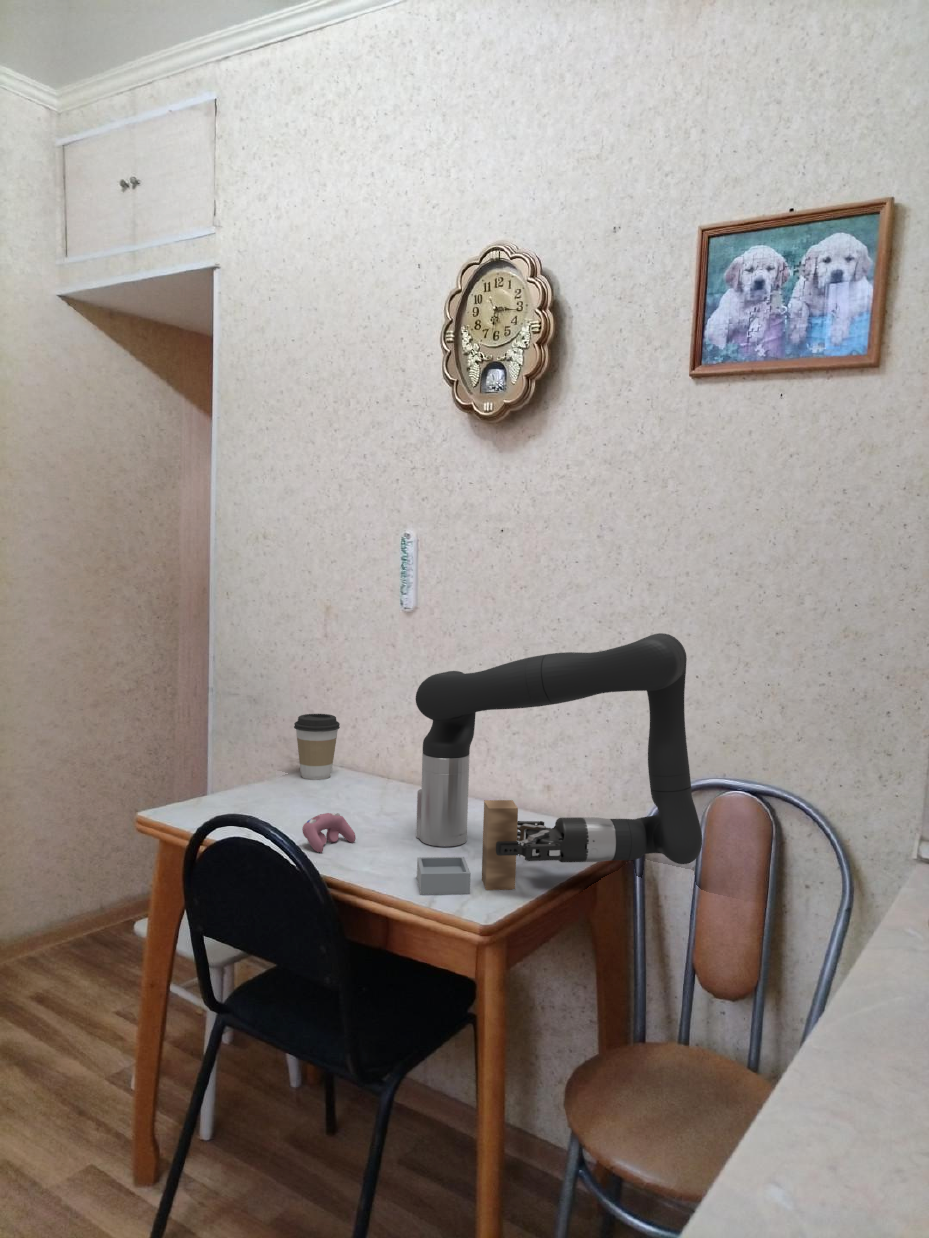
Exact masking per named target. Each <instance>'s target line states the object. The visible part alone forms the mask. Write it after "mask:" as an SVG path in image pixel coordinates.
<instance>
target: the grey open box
mask: <svg viewBox="0 0 929 1238" xmlns="http://www.w3.org/2000/svg"><path fill="white" fill-rule="evenodd" d="M416 864H417V866H416V878H417V879H416V880H417V883H418V884H417V885H418V888H419V889H418V890H419V893H420V894H419V895H420V896H421V895H422V896H423V895H424V896H425V895H470V894H471V870H470V867H469V865H468V863H467V860H466V857H465V856H417V863H416Z"/></svg>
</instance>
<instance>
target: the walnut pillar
mask: <svg viewBox="0 0 929 1238" xmlns="http://www.w3.org/2000/svg"><path fill="white" fill-rule="evenodd" d="M518 814H519V808H518V806H517V805H516V803H515V801H514V800H512V799H511V800H510V799H506V800H505V799H504V800H503V799H499V800H497V799H493V800H488V799H487V800H486V799H485V800H484V801H483V820H482V821H483V823H482V824H483V825H482V826H483V827H482V829H483V830H482V850H481V851H482V855H481V881H482V884H483V887H484V889H485V891H511V890H512V889H515V890H516V874H517V871H516V870H517V855H507V856H499V855H497V854H496V843H497V842H498V841H517V823H518V821H519V820H518V819H519V818H518V817H519V815H518ZM512 891H513V890H512Z"/></svg>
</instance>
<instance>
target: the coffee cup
mask: <svg viewBox="0 0 929 1238" xmlns="http://www.w3.org/2000/svg"><path fill="white" fill-rule="evenodd" d="M340 724H341V723H340V722H339V721H337V717H336V716H335V715H334V714H327V713H306V714H301V715H299V716H298V717H297V721H294V726H293V728H294V730H295V732H296V743H297V748H298V750H297V751H298V761H299V770H300V774H301V778H303V779H304V780H310V781H311V780H312V781H321V779H322V780H327V779H329V778H330V777H331V774H332V771H333V765H334V764H333V763H334V758H335V751H336V743H337V737H338V730H339V729H340V727H341V726H340Z"/></svg>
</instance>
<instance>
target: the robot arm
mask: <svg viewBox="0 0 929 1238" xmlns="http://www.w3.org/2000/svg"><path fill="white" fill-rule="evenodd" d="M687 657H688V656H687V652H686V649H685V647H684V645H683V644H682V642H681V641H680V640H679V639H678V638H676V637H675V636H673V635H671V634H667V633H663V632H662V633H654V634H650V635H648V636H646V637H644V638H641V639H638V640H636V641H634V642H633V641H632V642H630V643H627V644H624V645H621V646H617V647H613V648H609V649H605V650H601V651H594V652H592V651H591V652H578V651H577V652H576V651H573V652H571V651H570V652H569V651H568V652H555V653H547V654H542V655H536V656H535V655H534V656H530V657H525V658H522V659H517V660H514V661H510V662H507V663H502V664H499V665H497V666H494V667H491V668H488V669H484V670H480V671H475V672H469V673H465V672H462V671H459V670H449V671H444V672H438V673H435V674H433V675H430V676H428V677H427V678H426V679H423V681H422V682H421V683H420V685H419V686H418V687H417V690H416V691H415V705H416V707H417V709H418V710H419V713H421V714H422V715H423V716H425V717H426V718H427V719H430V720H432V723H431V727H430V730H429V731H428V733H427V734H426V735H425V737H424V738H423V741H422V757H421V758H422V759H421V760H422V761H421V762H422V763H421V788H420V789H418V790H417V792H416V794H417V795H416V796H417V797H416V798H417V799H416V827H415V828H416V829H415V830H416V831H415V832H416V833H415V834H416V835H415V838H417V839H420V841H421V842H422V843H424V844H426V845H429V846H433V847H444V848H445V847H456V846H461V845H463V844H465V843H466V842H467V838H468V818H469V817H468V814H469V811H468V809H469V787H470V786H469V785H470V784H469V783H470V782H469V781H470V779H469V777H470V753H471V752H470V750H471V744H472V742H473V739H474V736H475V726H476V713H479V712H484V711H493V710H514V709H515V710H516V709H529V708H536V707H537V708H540V707H544V706H545V707H547V706H552V705H558V704H562V703H568V702H574V701H577V700H582V699H586V698H590V697H593V696H596V695H600V694H605V693H606V694H607V693H619V692H620V693H621V692H645V691H646V693H647V699H648V706H649V707H648V708H649V731H648V744H647V767H648V768H647V769H648V770H647V771H648V777H649V778H648V779H649V788H650V794H651V799H652V801H653V803H654V805H655V807H656V808H657V810H658V811H657V812H658V814H654V815H648V816H644V817H643V816H642V817H637V818H604V817H595V816H593V817H584V816H583V817H579V816H577V817H558V818H557V819H556V821H555V823H554V824H555V825H554V827H552V828H551V827H547V826H546V825H545V821H542V820H540V821H538V820H537V821H535V820H518V823H517V841H498V842H497V843H496V854H497V855H499V856H507V855H516V856H518V857H520V858H522V859H523V858H524V860H525V861H526V862H539V861H540V862H541V861H543V862H545V861H559V863H599V862H608V861H632V860H639V859H640V858H642V857H643V856H645V855H647V854H660V855H661V854H662V855H663V856H664V857H666V858H667V859H668V860H669V861H671V862H673V863H675V864H679V865H687V864H690V863H693V862H695V860H696V859H697V858H698V857H699V856H700V854H701V850H702V848H703V833H702V828H701V823H700V819H699V816H698V812H697V809H696V804H695V802H694V800H693V795H692V780H691V771H690V770H691V769H690V763H689V761H690V760H689V754H688V745H687V733H686V731H687V730H686V719H685V716H686V715H685V689H686V674H687V673H686V672H687V660H688V659H687Z"/></svg>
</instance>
